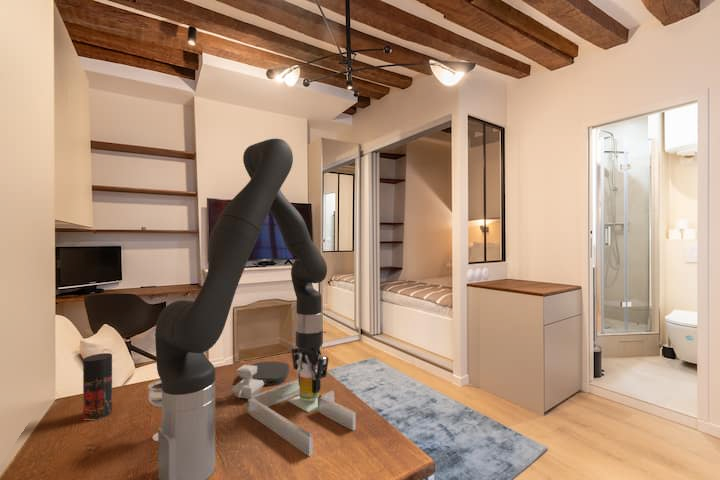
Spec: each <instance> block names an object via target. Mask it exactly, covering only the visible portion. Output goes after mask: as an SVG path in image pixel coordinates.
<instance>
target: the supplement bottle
mask: <svg viewBox="0 0 720 480" xmlns="http://www.w3.org/2000/svg"><path fill="white" fill-rule="evenodd" d="M316 366H317V364H316V365H314V366H312V367H313V368H314V367H316ZM302 368H303V369H302V370H301V371H300V394H299V395H300V398H301V399H302V400H304V401H311V400H315V399H317V398H318V396H320V391H319V392H317V393H313V392H312V379H313V378H312V374H311V372H310V371H309V368H308V364H307V363H304V362H302ZM315 374H317V370H315Z"/></svg>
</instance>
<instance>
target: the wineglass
mask: <svg viewBox="0 0 720 480" xmlns="http://www.w3.org/2000/svg"><path fill="white" fill-rule="evenodd" d="M147 387H148V389H149V391H148V394H147V399H148V401H149V403H151V404H152V405H153V406H155V407H160V408H161V409H162V382H161V379H157V380H154V381H152V382H151V383H149V384H148V386H147ZM152 440H153V441H155V442H158V432H156V433H154V434H153V436H152Z"/></svg>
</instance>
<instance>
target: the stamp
mask: <svg viewBox="0 0 720 480" xmlns="http://www.w3.org/2000/svg"><path fill="white" fill-rule="evenodd" d="M236 372H237V374H238V376H239V378H240V377H243V378H244V379H243V380H242V381H240V380H239V382H237V383H236V384H234V385H233V386H232V387H231V393H232V394H233V395H234V396H236V398H241V399H246V400H247V398H248V397H251V396H254V395H256V394H259V393H260V392H261V390H262V389H263V387H264V386H265V385H264V382H263V381H262V380H257V379H252V377H253V375H254V374H256V373H257V366H253V365H251V364H243V365H242V366H240V367H239V368H238V369H236ZM263 385H264V386H263Z"/></svg>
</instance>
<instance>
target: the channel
mask: <svg viewBox="0 0 720 480" xmlns="http://www.w3.org/2000/svg"><path fill="white" fill-rule="evenodd" d="M297 395H298V396H299V395H300V386H299V378H297V379H295V380H292V381H289V382H287V383H284V384H281V385H279V386H275V387H273V388H271V389H268V390H265V391H262V392H259V393H258V394H256V395H254V396H251V397H248V398H247V399H246V400H247V401H246V402H247V403H246V404H247V410H246V411H247V414H248V415H250V416H251V417H252V418H254V419H255V420H256V421H258V422H259V423H261V424H262V425H264V426H265V427H266V428H268V429H269V430H271V431H272V432H274V434H276V435H278V437H281V438H282V439H283V440H285V441H286V442H287V443H289V444H291V445H292V446H294V447H295V448H296V449H298V450H299V451H300V452H302V454H303V453H304V454H305V456H308V457H311V456H313V454H314V436H313V434H311V433H310V432H308V431H306V430H305V429H303V428H302V427H301V426H299V425H297V424H295V423H294V422H292V421H290V419H288V418H286V417H284V416H283V415H281V414H279V413H278V412H276V411H275V410H273V409H271V408H270V407H271V406H273V405H276V404H279V403H281V402H283V401H286V400H289V399H292V398H294V397H297ZM317 412H318V413H319V414H321V415H323V416H325V417H326V418H328V419H330V420H332V421H334V422H335V423H338V424H340V425H341V426H343V427H345V428H347V429H349V430H351V431H355V430H356V428H357V427H356V426H357V420H356V419H357V414H356V413H357V412H356V411H353V410H352V409H350V408H348V407H346V406H343V405H342V404H340V403H337V402H335V391H334V390H329V391H328V392H326V393H323V394H321V395H320V394H319V396H318V408H317Z"/></svg>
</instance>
